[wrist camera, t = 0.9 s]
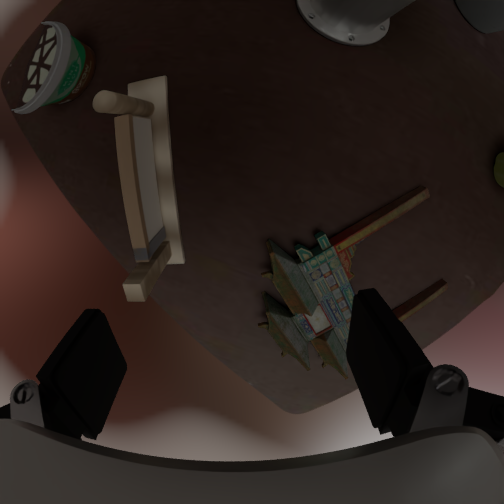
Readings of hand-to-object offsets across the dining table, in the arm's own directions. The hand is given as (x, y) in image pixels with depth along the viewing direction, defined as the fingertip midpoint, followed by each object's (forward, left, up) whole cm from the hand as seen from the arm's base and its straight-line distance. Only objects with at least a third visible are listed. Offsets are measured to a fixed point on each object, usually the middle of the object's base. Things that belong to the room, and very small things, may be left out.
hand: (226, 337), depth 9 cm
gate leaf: (-3, -11, -24) cm, 27 cm away
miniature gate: (+15, +16, -26) cm, 34 cm away
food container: (-20, -21, -26) cm, 39 cm away
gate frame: (-3, -11, -26) cm, 28 cm away
